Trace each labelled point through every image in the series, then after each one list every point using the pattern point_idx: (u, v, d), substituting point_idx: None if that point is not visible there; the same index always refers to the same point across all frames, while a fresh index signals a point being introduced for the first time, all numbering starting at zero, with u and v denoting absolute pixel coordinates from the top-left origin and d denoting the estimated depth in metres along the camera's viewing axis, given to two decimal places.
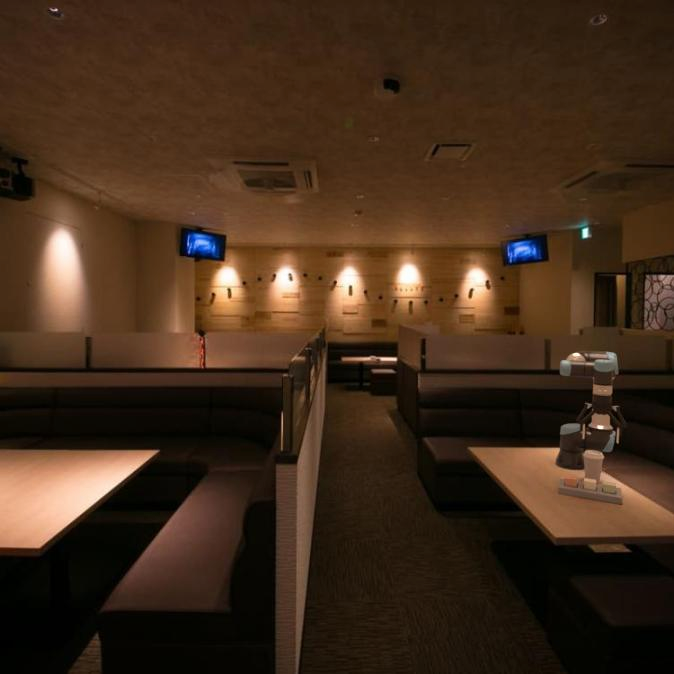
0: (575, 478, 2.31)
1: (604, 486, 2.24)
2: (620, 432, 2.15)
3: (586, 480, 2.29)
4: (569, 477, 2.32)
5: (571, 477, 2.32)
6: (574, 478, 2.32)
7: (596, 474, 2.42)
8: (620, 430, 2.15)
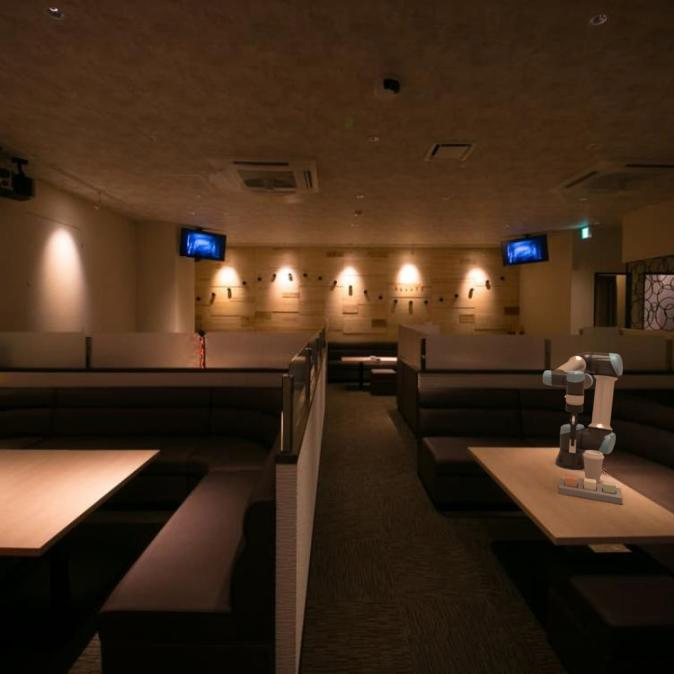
0: (575, 478, 2.31)
1: (604, 486, 2.24)
2: (571, 442, 2.30)
3: (586, 480, 2.29)
4: (569, 477, 2.32)
5: (571, 477, 2.32)
6: (574, 478, 2.32)
7: (596, 474, 2.42)
8: (571, 440, 2.30)
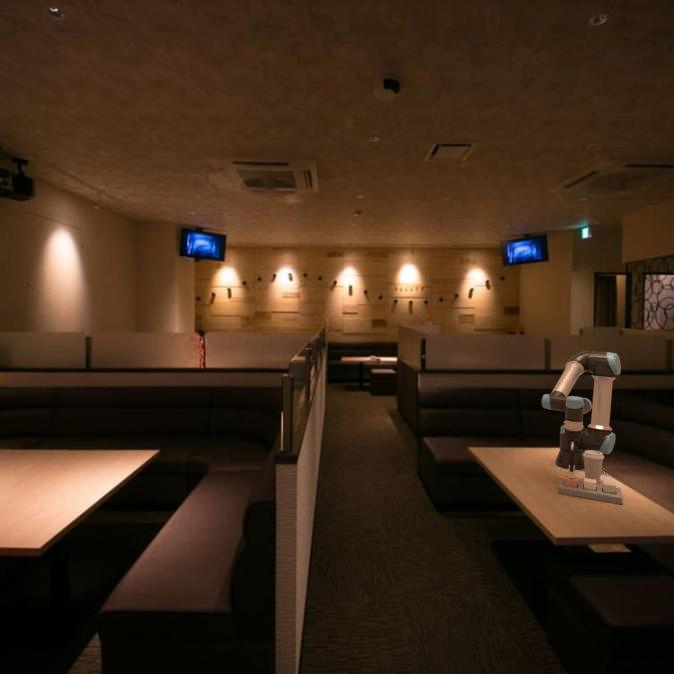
0: (575, 479, 2.31)
1: (604, 486, 2.24)
2: (570, 468, 2.31)
3: (586, 480, 2.29)
4: (569, 478, 2.32)
5: (571, 478, 2.32)
6: (574, 478, 2.32)
7: (596, 474, 2.42)
8: (570, 466, 2.31)
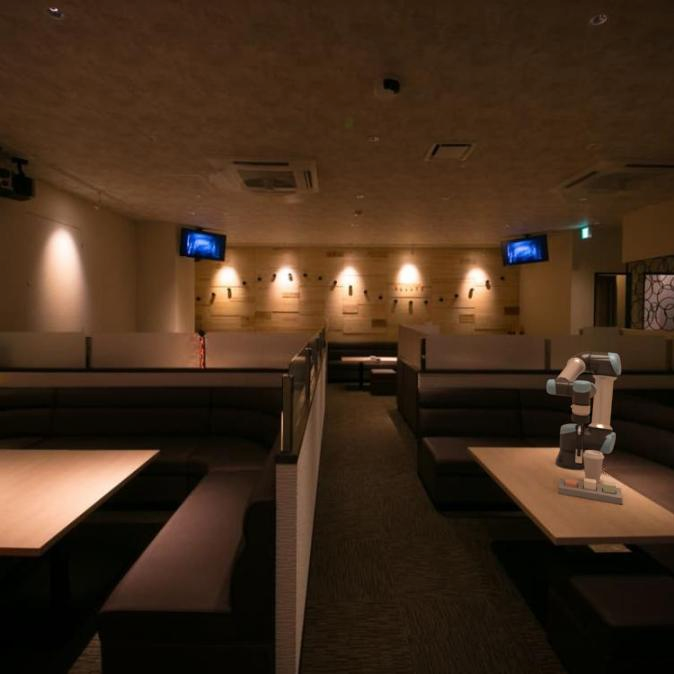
0: (575, 482, 2.31)
1: (604, 486, 2.24)
2: (577, 452, 2.30)
3: (586, 480, 2.29)
4: (569, 481, 2.33)
5: (571, 481, 2.32)
6: (573, 481, 2.32)
7: (596, 474, 2.42)
8: (577, 451, 2.29)
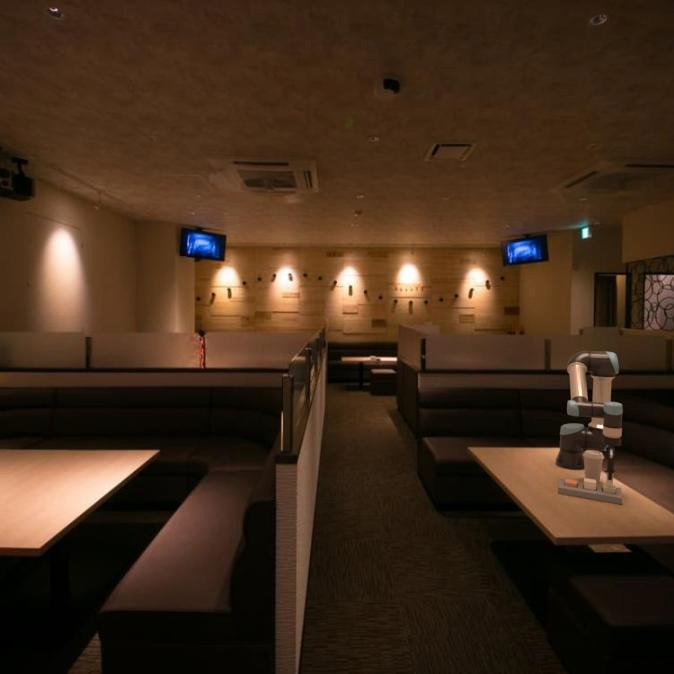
0: (575, 482, 2.31)
1: (604, 489, 2.24)
2: (608, 476, 2.24)
3: (586, 480, 2.29)
4: (569, 481, 2.33)
5: (571, 481, 2.32)
6: (573, 481, 2.32)
7: (596, 474, 2.42)
8: (608, 474, 2.24)
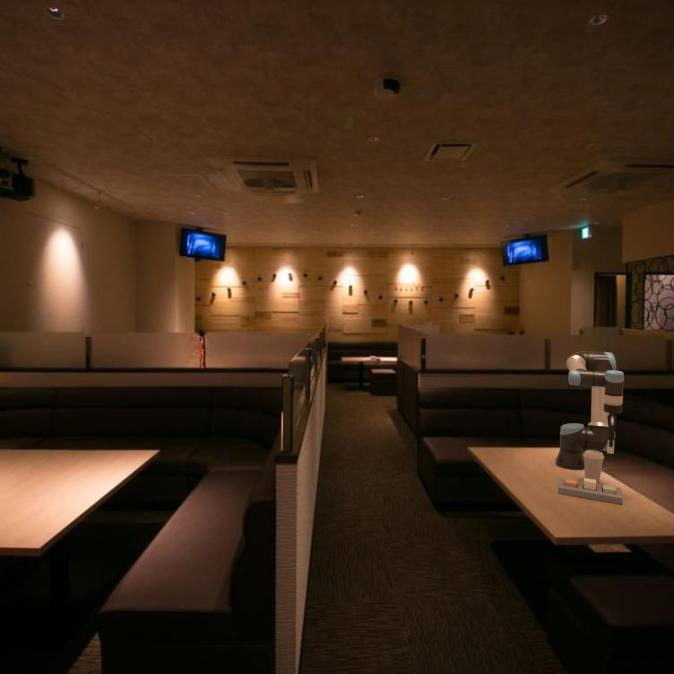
0: (575, 482, 2.31)
1: (604, 490, 2.24)
2: (609, 443, 2.27)
3: (586, 480, 2.29)
4: (569, 481, 2.33)
5: (571, 481, 2.32)
6: (573, 481, 2.32)
7: (596, 474, 2.42)
8: (609, 441, 2.27)
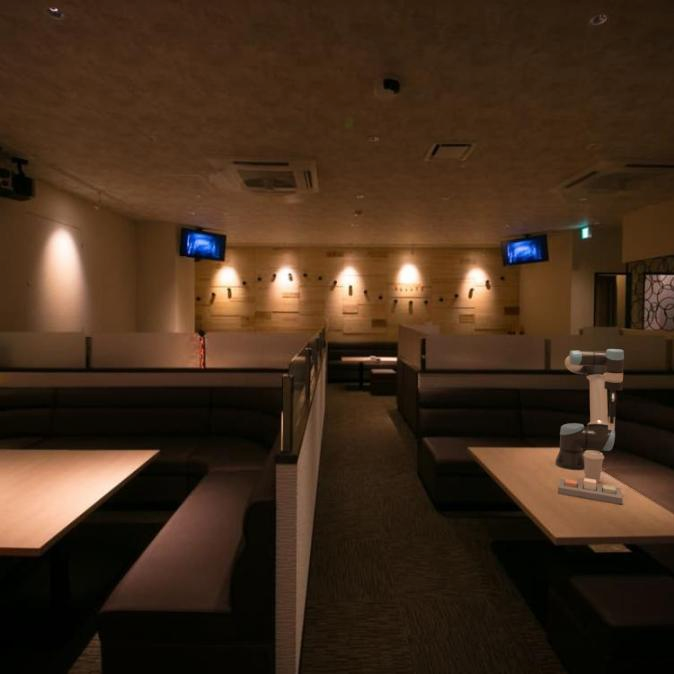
0: (575, 482, 2.31)
1: (604, 490, 2.24)
2: (610, 420, 2.33)
3: (586, 480, 2.29)
4: (569, 481, 2.33)
5: (571, 481, 2.32)
6: (573, 481, 2.32)
7: (596, 474, 2.42)
8: (610, 418, 2.33)
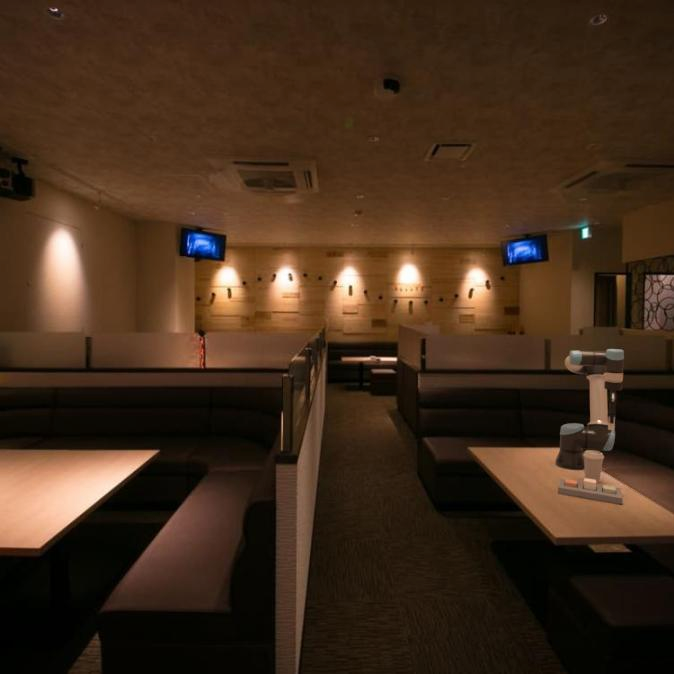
0: (575, 482, 2.31)
1: (604, 490, 2.24)
2: (610, 420, 2.33)
3: (586, 480, 2.29)
4: (569, 481, 2.33)
5: (571, 481, 2.32)
6: (573, 481, 2.32)
7: (596, 474, 2.42)
8: (610, 418, 2.33)
